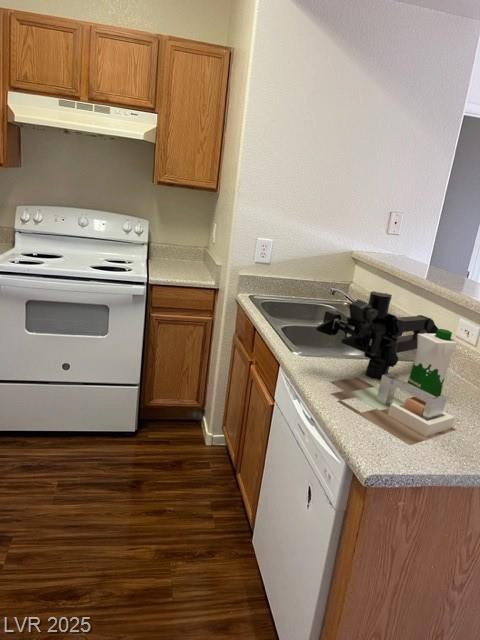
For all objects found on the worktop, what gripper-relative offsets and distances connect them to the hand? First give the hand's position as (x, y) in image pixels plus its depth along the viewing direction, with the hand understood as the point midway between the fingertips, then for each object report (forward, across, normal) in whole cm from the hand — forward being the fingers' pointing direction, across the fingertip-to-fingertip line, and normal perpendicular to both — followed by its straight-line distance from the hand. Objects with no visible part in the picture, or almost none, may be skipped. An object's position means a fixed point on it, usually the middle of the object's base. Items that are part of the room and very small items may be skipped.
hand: (329, 334), depth 127 cm
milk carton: (-30, +14, +18) cm, 37 cm away
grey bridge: (-10, +21, +15) cm, 28 cm away
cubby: (-10, +25, +15) cm, 31 cm away
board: (-7, +15, +16) cm, 24 cm away
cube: (-10, +24, +15) cm, 30 cm away
